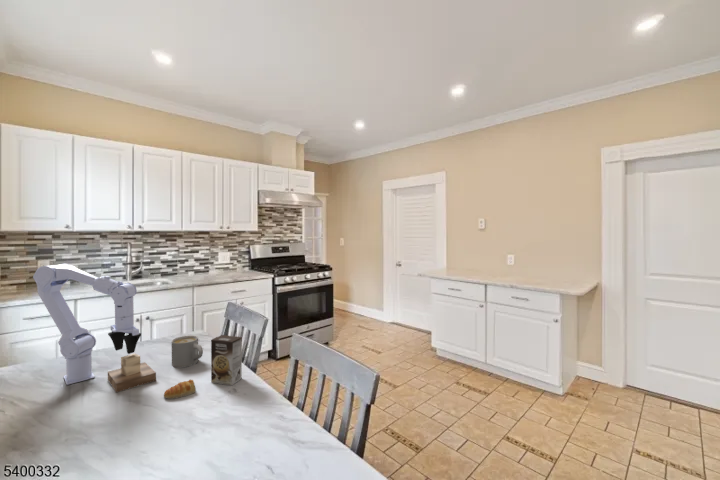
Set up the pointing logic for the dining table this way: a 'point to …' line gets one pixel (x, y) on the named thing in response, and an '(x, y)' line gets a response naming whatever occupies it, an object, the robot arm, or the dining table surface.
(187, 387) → the pastry
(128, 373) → the beech block
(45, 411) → the dining table surface
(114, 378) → the walnut base
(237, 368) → the coffee box
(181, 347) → the coffee mug
